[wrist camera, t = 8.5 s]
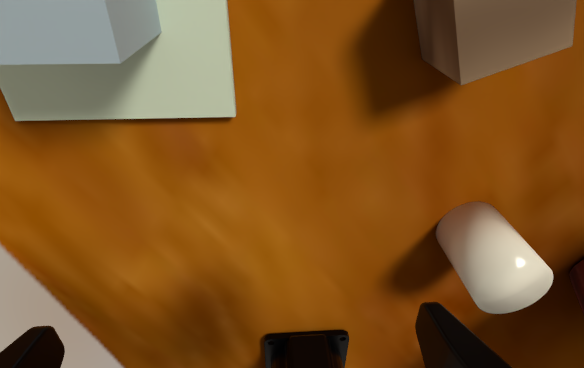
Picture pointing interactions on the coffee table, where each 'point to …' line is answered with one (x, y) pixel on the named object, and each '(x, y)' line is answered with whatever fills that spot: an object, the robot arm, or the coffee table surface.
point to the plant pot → (578, 282)
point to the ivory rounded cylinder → (492, 259)
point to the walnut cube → (491, 34)
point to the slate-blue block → (75, 30)
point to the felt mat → (138, 74)
